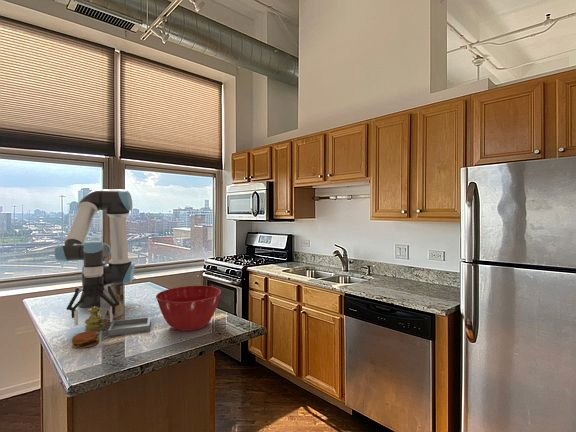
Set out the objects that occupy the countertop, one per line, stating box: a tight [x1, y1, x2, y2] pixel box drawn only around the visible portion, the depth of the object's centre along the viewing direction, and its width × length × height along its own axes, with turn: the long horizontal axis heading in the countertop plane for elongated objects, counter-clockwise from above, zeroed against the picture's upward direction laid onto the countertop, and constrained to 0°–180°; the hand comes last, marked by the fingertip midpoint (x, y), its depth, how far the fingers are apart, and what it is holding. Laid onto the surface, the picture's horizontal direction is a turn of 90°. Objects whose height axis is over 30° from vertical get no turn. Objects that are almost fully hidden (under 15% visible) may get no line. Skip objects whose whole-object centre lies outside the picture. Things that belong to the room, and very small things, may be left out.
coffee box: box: [100, 283, 125, 320], centre depth 167 cm, size 9×6×16 cm
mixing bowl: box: [155, 285, 222, 332], centre depth 153 cm, size 28×28×16 cm
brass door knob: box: [84, 306, 105, 332], centre depth 150 cm, size 7×8×10 cm
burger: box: [71, 331, 100, 349], centre depth 133 cm, size 10×9×5 cm
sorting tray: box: [107, 316, 151, 337], centre depth 150 cm, size 13×16×2 cm
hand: (94, 323), depth 150 cm, fingers open, 13 cm apart
